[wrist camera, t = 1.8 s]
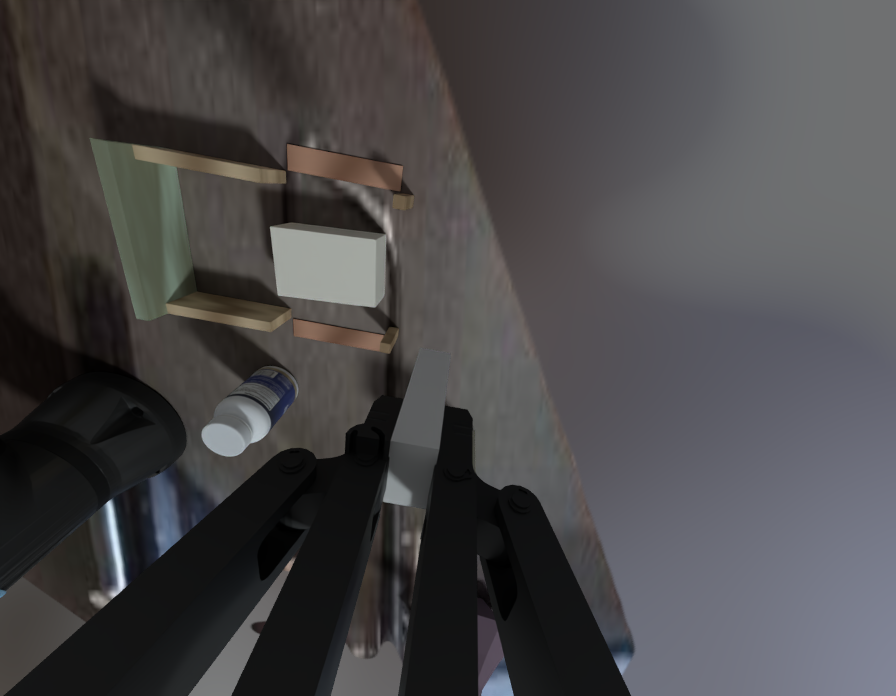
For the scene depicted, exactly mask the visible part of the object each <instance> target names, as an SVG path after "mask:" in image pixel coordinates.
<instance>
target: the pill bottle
mask: <svg viewBox="0 0 896 696" xmlns="http://www.w3.org/2000/svg"><path fill="white" fill-rule="evenodd" d="M297 395H298V385H297V382H296V380H295V378H294V377H293V376H292V375H291V374H290V373H289V372H287V371H286V370H284V369H282V368H280V367H276V366H265V367H262V368H260V369H259V370H257V371H256V372H255V373H254V374H253V375H251V376H250V377H249V378H248V379H247V380H246V381H245V382H243V383H242V384H241V385H240V386H239V387H238V388H236V389H235V390H234V391H233V392H232V393H231V394H229V395H228V396H227V397H226V398H225V399H224V400H222V401H221V402H220V403H219V404H218V405H217V407H216V409H215V412H214V418H213V419H212V420H211V421H210V422H209V423H208V424H207V425H206V426H205V427H204V428H203V430H202V439H203V441H204V443H205V444H206V446H207V447H208V448H209V449H211V450H212V451H214V452H215V453H217V454H220V455H223V456H236V455H239V454H240V453H242V452H243V451H244V449H245V448H246V447H247V446H248V445H249V444H250V443H253V442H257V441H259V440H261V439H262V438H263V437H264V436H265V435H266V434H267V433H268V432H269V431H270V430H271V429H272V427H273V426H274V425H275V424H276V422H277V421H278V420H279V419H280V417H281V416H282V415H283V414H284V413H285V411H286V410H287V409H288V408H289V406H290V405H291V404H292V403H293V401H294V400H295V399H296V397H297Z"/></svg>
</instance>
